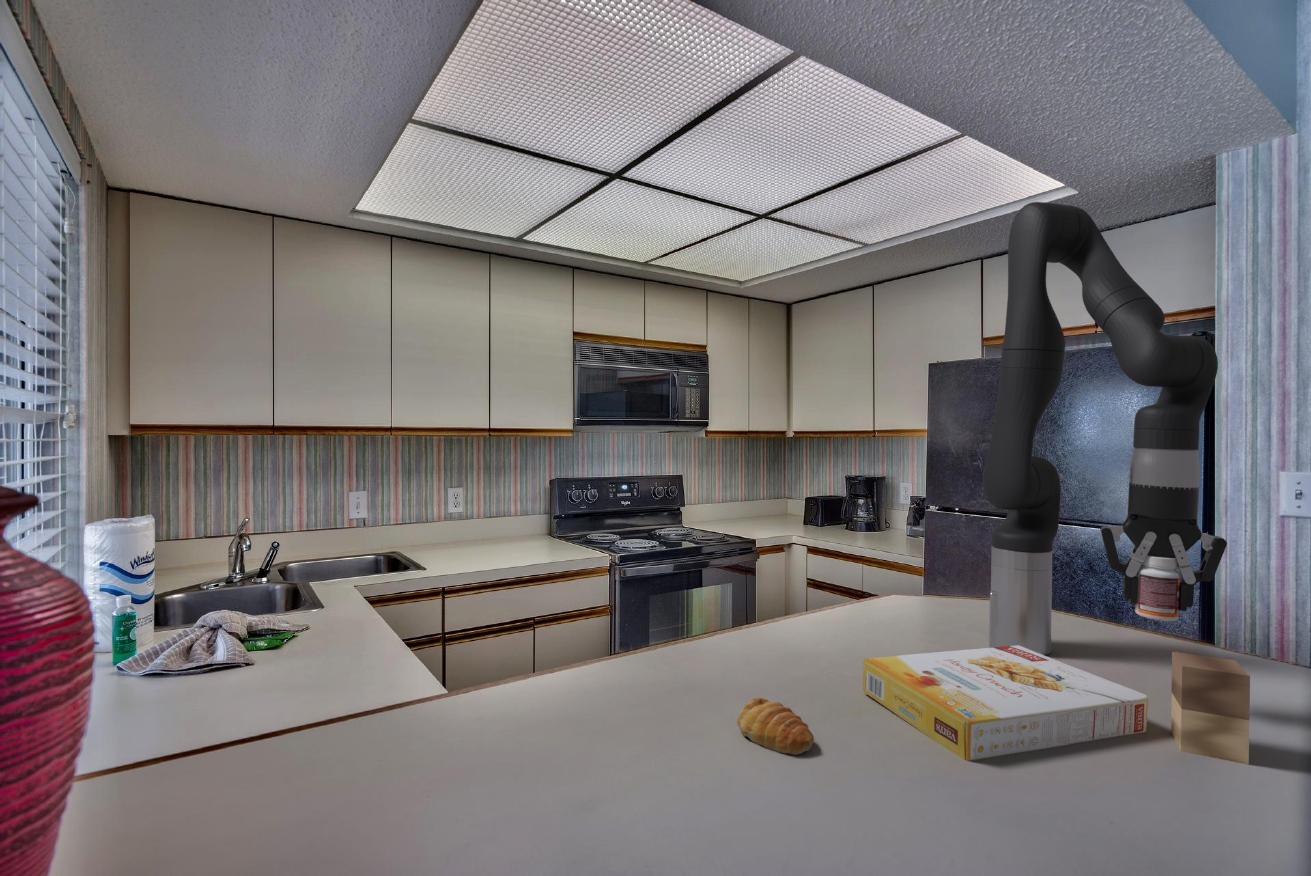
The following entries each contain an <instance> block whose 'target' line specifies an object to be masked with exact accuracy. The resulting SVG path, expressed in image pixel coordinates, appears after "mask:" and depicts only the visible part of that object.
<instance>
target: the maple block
mask: <svg viewBox="0 0 1311 876" xmlns="http://www.w3.org/2000/svg"><path fill="white" fill-rule="evenodd" d="M1170 709H1171V716H1170V717H1171V718H1170V719H1171V720H1170V722H1171V723H1170V728H1171V729H1170V730H1171V731H1170V732H1171V733H1172V734H1171V735H1172V737H1173V738H1174V740H1175V742H1176V745H1177V746H1178V749H1179V750H1180V752H1183V753H1187V754H1193V755H1198V756H1202V757H1207V756H1208V758H1213V759H1217V758H1218V759H1217V760H1222V761H1223V760H1224V761H1227V760H1228V762H1233V763H1239V764H1243V765H1248V766H1249V761H1250V760H1249V759H1250V756H1249V755H1250V719H1249V720H1244V719H1238V718H1232V717H1226V716H1220V715H1214V714H1209V713H1203V712H1197V711H1191V710H1185V709H1181V707H1180V705H1179V704H1178V702H1177V700H1176V699H1175V697H1174V695H1173V693H1172V692H1171V708H1170Z"/></svg>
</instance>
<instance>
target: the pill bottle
mask: <svg viewBox="0 0 1311 876" xmlns="http://www.w3.org/2000/svg"><path fill="white" fill-rule="evenodd" d="M1176 569H1178V563H1177V560H1176V558H1166V557H1163V556H1146V558H1145V560H1144V562H1143V563H1142V564H1141V566H1140V568H1139V570H1138V572H1137V574H1136V577H1137V578H1138V582H1137V602H1136V604H1134V606H1135V607H1134V609H1135V610H1134V612H1135V613H1136V614H1137V615H1138V616H1140V617H1143V618H1147V619H1150V620H1156V621H1162V622H1163V621H1164V622H1175V621H1178V620H1179V618H1180V617H1179V614H1180V610H1179V600H1180V581H1181V575H1180V572H1179V570H1176Z"/></svg>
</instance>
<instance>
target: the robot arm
mask: <svg viewBox="0 0 1311 876" xmlns="http://www.w3.org/2000/svg"><path fill="white" fill-rule="evenodd" d="M1012 220H1013V221H1012V223H1011V227H1010V229H1009V235H1008V243H1007V246H1008V247H1007V250H1008V251H1007V252H1008V253H1007V303H1006V305H1007V306H1006V316H1005V327H1004V336H1003V341H1002V342H1003V343H1002V347H1001V348H1002V349H1001V356H1000V358H1001V359H1000V368H999V380H998V381H999V382H998V390H997V397H996V404H995V411H994V413H995V414H994V420H993V426H992V432H991V437H990V441H989V444H988V451H987V454H986V458H985V463H984V467H983V473H982V474H983V475H982V488H983V491H984V492H983V493H984V495H985V497H986V499H987V500H988V502H989V503H990V504H991V505H992V506H994V507H995V508H996V509H997V508H998V509H1000V510H1005V511H1007V514H1006V516H1005V519H1004V521H1003V522H1002V523H1001V524H1000V525H998V526H997V527H996V528H994V529H993V531H992V533H991V556H990V557H991V559H990V560H991V565H990V566H991V568H990V570H991V571H990V572H991V573H990V592H989V627H988V629H989V636H988V638H989V639H988V641H989V644H988V646H989V647H988V648H993V647H1004V646H1016V645H1019V646H1022V647H1024V648H1027V649H1029V650H1032V651H1034V652H1037V653H1039V654H1042V655H1044V656H1046V655H1049V654H1050V653H1051V651H1052V611H1053V610H1052V607H1053V606H1052V603H1053V602H1052V600H1053V546H1054V544H1053V543H1054V540H1055V538H1056V536H1057V534H1058V531H1059V525H1060V522H1059V521H1060V511H1061V510H1060V508H1061V496H1062V492H1061V491H1062V490H1061V488H1062V487H1061V479H1060V475H1059V473H1058V470H1057V469H1056V467H1055V465H1054V464H1053V463H1052V462H1051V461H1050V460H1048V459H1046V458H1045V457H1042V456H1036V455H1033V446H1034V439H1035V434H1036V431H1037V427H1038V425H1039V422H1040V420H1041V418H1042V416H1043V415H1044V413H1045V411H1046V410H1047V408H1048V407H1049V405H1050V403H1051V401H1052V399H1053V398H1054V396H1055V394H1056V392H1057V390H1058V388H1059V386H1060V383H1061V381H1062V376H1063V368H1064V359H1065V352H1066V340H1065V334H1064V331H1063V328H1062V326H1061V323H1060V320H1059V319H1058V316H1057V313H1056V312H1055V310H1054V308H1053V305H1052V303H1051V300H1050V298H1049V293H1048V290H1047V267H1048V266H1047V264H1048V263H1050V264H1052V263H1053V264H1057V263H1059V264H1061V265H1063V266H1064V267H1067V269H1069V270H1070V271H1071V272H1073V273H1074V274H1075V275H1076V276H1077V277H1078V278H1079V281H1080V282H1081V296H1082V297H1081V299H1082V302H1083V305H1084V307H1085V310H1086V311H1087V313H1088V315H1089V316H1090V317H1091V318H1092V320H1093V321H1094V322H1095V323H1096V325H1097V326H1098V327H1099V328H1100V329H1101V331H1103V333H1104V334H1105V335H1106V336H1107V337H1108V338H1109V341H1110V344H1111V347H1112V350H1113V352H1114V355H1115V357H1116V359H1117V362H1118V365H1119V367H1120V369H1121V370H1122V372H1123V374H1125V376H1127V377H1128V378H1129V379H1130V380H1131V381H1133V382H1134V383H1136V384H1138V385H1141V386H1143V387H1150V388H1151V387H1155V388H1161V391H1160V394H1159V396H1158V399H1157V400H1156V401H1155V403H1154V404H1150V405H1149V404H1148V405H1146V406H1143V407H1140V408H1139V409H1138V410H1137V411H1136V413H1135V416H1134V423H1133V440H1132V441H1133V444H1132V446H1133V448H1132V453H1131V458H1130V462H1129V472H1128V480H1129V481H1128V499H1127V501H1128V502H1127V517H1126V519H1125V520H1124V522H1123V524H1122V525H1117V526H1116V525H1115V526H1114V525H1113V526H1107V525H1103V526H1101V527H1100V534H1101V539H1102V542H1103V546H1104V549H1105V553H1106V554H1105V555H1106V558H1107V562H1108V565H1109V567H1110V569H1111V570H1112V571H1116V572H1119V573H1120V574H1122V575H1123V585H1122V587H1123V588H1122V593H1123V596H1124V598H1125V600H1128V603H1129V604H1131V605H1135V604H1136V602H1137V582H1138V578H1137V572H1138V570H1139V568H1140V567H1141V566H1142V563H1143V562H1144V560H1145V558H1146V556H1163V557H1166V558H1176V560H1177V563H1178V568H1177V569H1178V570H1177V571H1178V572H1179V573H1180V575H1181V581H1180V600H1179V612H1187V609H1188V608H1189V609H1190V608H1192V607H1193V606H1194V600H1195V599H1194V595H1195V586H1196V584H1198V583H1201V582H1208V583H1209V582H1212V581H1213V580H1214V577H1215V576H1216V573H1217V570H1218V568H1219V565H1220V563H1221V560H1222V558H1223V556H1224V553H1225V551H1226V548H1227V545H1228V542H1227V540H1226V539H1225V538H1223V537H1221V536H1218V535H1211V534H1207V533H1204V532H1202V531H1201V529H1200V528H1199V527H1200V526H1199V525H1198V512H1199V511H1198V510H1199V497H1200V496H1199V493H1200V492H1199V491H1200V477H1201V476H1200V470H1201V469H1200V458H1199V449H1200V448H1199V447H1200V446H1199V444H1200V419H1201V418H1202V414H1203V413H1204V410H1205V408H1206V406H1207V403H1208V401H1209V398H1210V394H1211V392H1212V389H1213V386H1214V383H1215V380H1216V378H1217V375H1218V369H1219V361H1218V355H1217V352H1216V350H1215V348H1214V346H1213V345H1212V344H1211V342H1209V341H1208V340H1207V339H1205V338H1203V337H1201V336H1200V337H1199V336H1193V335H1182V334H1181V335H1179V334H1165V333H1164V332H1162V331H1161V330H1162V328H1163V327H1164V324H1165V321H1166V320H1165V319H1166V317H1165V313H1164V311H1163V309H1162V308H1161V307H1160V305H1159V304H1158V303H1157V302H1156V301H1155V300H1154V299H1153V298H1152V297H1151V296H1150V295H1149V294H1148V293H1147V292H1146V291H1145V290H1144V289H1143V288H1142V287H1141V286H1140V285H1139V284H1138V283H1137V282H1136V281H1135V280H1134V279H1133V277H1131V275H1130V274H1129V273H1128V272H1127V270H1125V268H1124V266H1123V265H1122V263H1120V261H1119V260H1118V259H1117V256H1116V255H1115V254H1114V252H1113V251H1112V249H1111V247H1110V245H1109V244H1108V243H1107V241H1106V239H1105V237H1104V235H1103V234H1102V232H1101V231H1100V229H1099V228H1098V226H1097V224H1096V223H1095V221H1094V220H1093V217H1091V216H1090V214H1089V213H1088V212H1087V211H1086V210H1084V209H1083V208H1081V207H1078V206H1075V205H1070V204H1060V203H1052V202H1051V203H1050V202H1043V201H1034V202H1029V203H1027V204H1025V205H1023V206H1022V207H1021V208H1020V209H1019V211H1018V212H1017V213H1016V214H1015V216H1014V219H1012ZM1122 534H1125V535H1126V536H1127V538H1128V539H1129V541H1130V542H1131V543H1132V544H1133V545H1134V546H1133V548H1132V550H1131V551H1130V555H1129V557H1128V559H1127V561H1126V563H1125V562H1121V560H1120V559H1119V558H1120V557H1119V555H1118V551H1117V546H1116V543H1117V542H1120V540H1121V536H1122ZM1199 541H1201V543H1202V545H1201V547H1202V549H1203V550H1204V551H1205V554H1204V556H1203V559H1202V562H1201V564H1200V567H1199V569H1197V570H1193V569H1192V566H1191V565H1192V564H1191V561H1190V559H1189V557H1188V554H1187V552H1188V551H1189V550H1190V549H1191V548H1192V547H1193V546H1194V545H1196V543H1197V542H1199Z"/></svg>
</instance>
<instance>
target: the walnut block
mask: <svg viewBox="0 0 1311 876" xmlns="http://www.w3.org/2000/svg"><path fill="white" fill-rule="evenodd" d="M1172 693H1173V695H1174V697H1175V699H1176V700H1177V702H1178V704H1179V705H1180V707H1181V709H1185V710H1191V711H1197V712H1203V713H1209V714H1214V715H1220V716H1226V717H1232V718H1238V719H1244V720H1249V721H1250V711H1251V710H1250V709H1251V707H1250V706H1251V705H1250V704H1251V703H1250V701H1251V700H1250V699H1251V675H1250V674H1249V673H1248V672H1247V671H1246V670H1245V669H1244V668H1243V667H1242V665H1240V664H1239V662H1238V661H1237V660H1236V659H1228V658H1222V657H1216V656H1215V657H1214V656H1207V655H1199V654H1192V653H1185V652H1179V651H1178V652H1177V651H1172V652H1171V694H1172Z"/></svg>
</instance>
